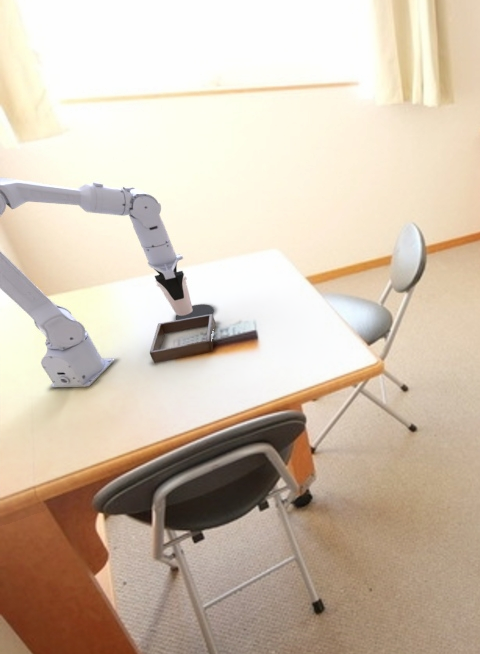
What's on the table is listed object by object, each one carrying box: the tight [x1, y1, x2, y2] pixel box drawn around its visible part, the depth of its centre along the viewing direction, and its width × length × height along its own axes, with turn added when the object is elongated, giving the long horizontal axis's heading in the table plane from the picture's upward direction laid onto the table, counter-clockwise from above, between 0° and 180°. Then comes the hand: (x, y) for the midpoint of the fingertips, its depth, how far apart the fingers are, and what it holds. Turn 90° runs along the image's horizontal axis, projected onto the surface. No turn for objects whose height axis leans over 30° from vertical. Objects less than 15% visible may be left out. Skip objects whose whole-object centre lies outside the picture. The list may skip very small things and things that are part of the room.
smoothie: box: [155, 272, 193, 316], centre depth 119 cm, size 6×6×14 cm
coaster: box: [175, 303, 214, 320], centre depth 131 cm, size 9×9×1 cm
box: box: [149, 313, 217, 364], centre depth 120 cm, size 13×12×3 cm
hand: (176, 293), depth 120 cm, fingers closed on smoothie, 6 cm apart
